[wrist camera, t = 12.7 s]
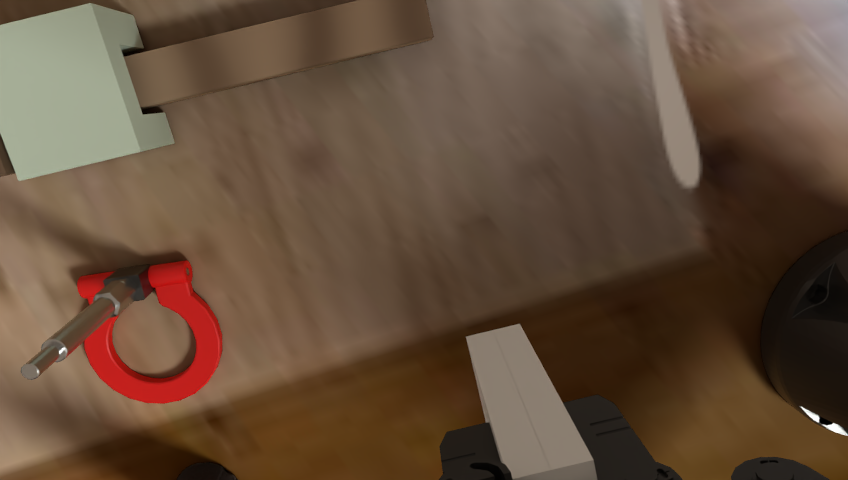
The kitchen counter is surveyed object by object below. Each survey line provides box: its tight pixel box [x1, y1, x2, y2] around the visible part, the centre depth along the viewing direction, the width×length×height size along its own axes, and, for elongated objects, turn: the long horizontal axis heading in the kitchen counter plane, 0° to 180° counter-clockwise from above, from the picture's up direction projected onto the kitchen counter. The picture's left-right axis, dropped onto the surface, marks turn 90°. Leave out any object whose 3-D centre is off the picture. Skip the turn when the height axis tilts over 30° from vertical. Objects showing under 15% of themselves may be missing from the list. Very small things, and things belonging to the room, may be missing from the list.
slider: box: [0, 3, 175, 181], centre depth 37 cm, size 7×8×6 cm
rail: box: [0, 0, 434, 177], centre depth 38 cm, size 27×7×6 cm, turn 103°
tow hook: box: [21, 260, 222, 403], centre depth 38 cm, size 9×14×10 cm
